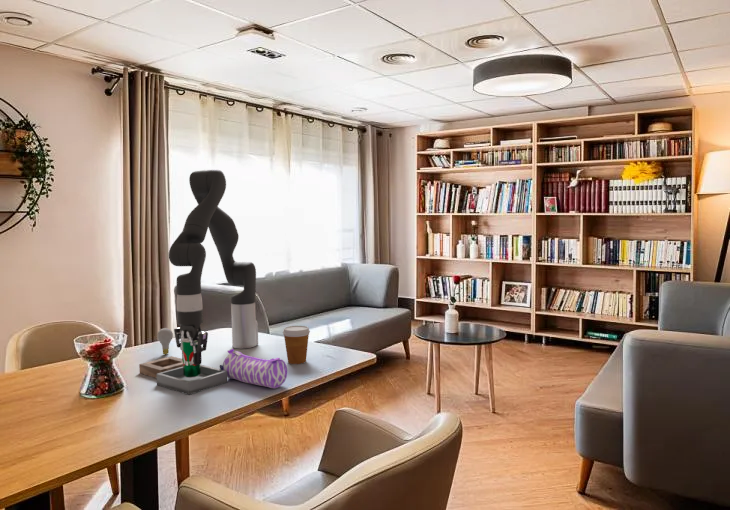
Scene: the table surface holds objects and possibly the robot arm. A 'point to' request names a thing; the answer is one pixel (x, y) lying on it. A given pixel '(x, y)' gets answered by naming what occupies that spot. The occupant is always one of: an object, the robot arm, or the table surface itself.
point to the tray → (192, 379)
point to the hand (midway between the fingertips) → (191, 362)
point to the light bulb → (165, 339)
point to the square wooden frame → (160, 366)
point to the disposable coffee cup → (296, 343)
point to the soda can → (189, 360)
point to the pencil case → (255, 369)
